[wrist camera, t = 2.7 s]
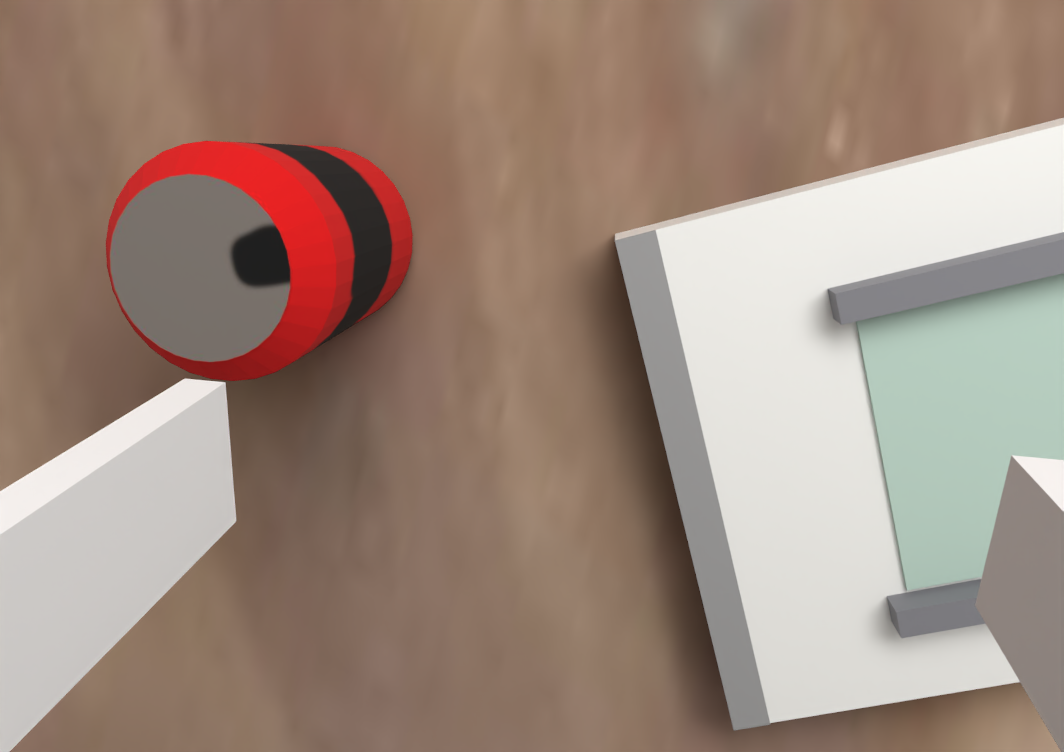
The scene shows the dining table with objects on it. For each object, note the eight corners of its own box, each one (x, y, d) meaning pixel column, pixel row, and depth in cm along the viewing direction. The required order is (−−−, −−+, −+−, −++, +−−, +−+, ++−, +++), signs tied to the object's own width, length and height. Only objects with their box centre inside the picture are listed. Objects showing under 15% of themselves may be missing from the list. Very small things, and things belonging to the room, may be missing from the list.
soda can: (433, 303, 38) (350, 366, 26) (273, 337, 39) (126, 412, 27) (389, 127, 36) (281, 112, 25) (223, 168, 37) (44, 172, 26)
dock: (725, 688, 41) (737, 748, 37) (615, 234, 36) (614, 243, 32) (1281, 593, 37) (1364, 647, 33) (1237, 72, 33) (1327, 59, 28)
